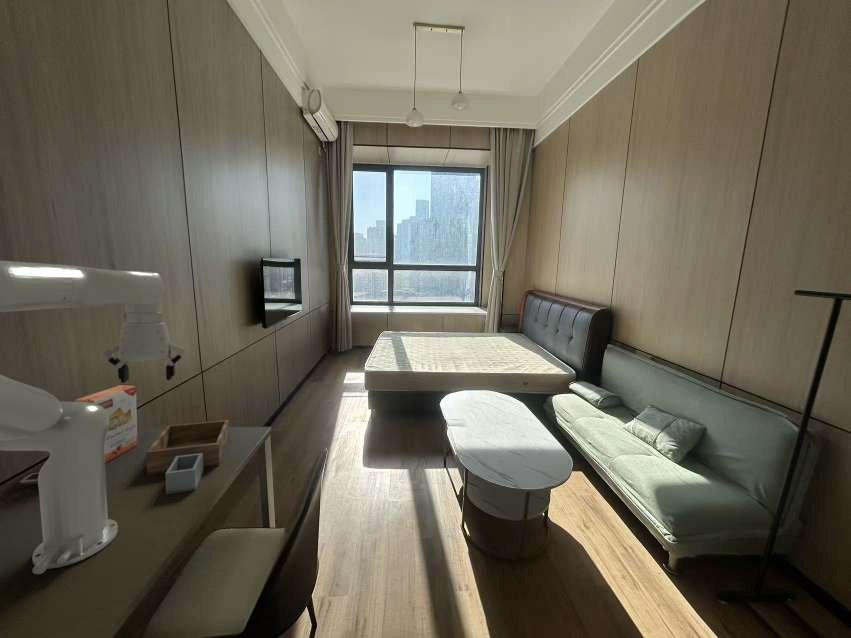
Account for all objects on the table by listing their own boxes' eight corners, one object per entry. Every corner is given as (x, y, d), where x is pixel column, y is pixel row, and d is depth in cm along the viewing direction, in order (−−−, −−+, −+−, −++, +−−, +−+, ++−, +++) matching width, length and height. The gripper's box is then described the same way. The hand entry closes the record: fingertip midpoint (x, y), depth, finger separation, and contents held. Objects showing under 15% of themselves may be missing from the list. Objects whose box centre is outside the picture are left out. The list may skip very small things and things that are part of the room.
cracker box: (97, 469, 96) (93, 400, 94) (77, 467, 96) (72, 399, 94) (139, 445, 110) (137, 385, 108) (121, 444, 110) (119, 384, 108)
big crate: (219, 465, 102) (219, 444, 101) (147, 475, 95) (146, 452, 94) (228, 438, 119) (228, 419, 118) (168, 445, 112) (167, 425, 111)
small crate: (195, 490, 90) (195, 469, 89) (166, 494, 88) (165, 473, 87) (203, 471, 98) (203, 452, 98) (176, 475, 96) (176, 456, 95)
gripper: (95, 320, 80) (99, 387, 83) (181, 320, 88) (183, 381, 90) (108, 316, 87) (112, 378, 89) (187, 316, 95) (189, 373, 97)
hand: (147, 379), depth 90 cm, fingers open, 9 cm apart
